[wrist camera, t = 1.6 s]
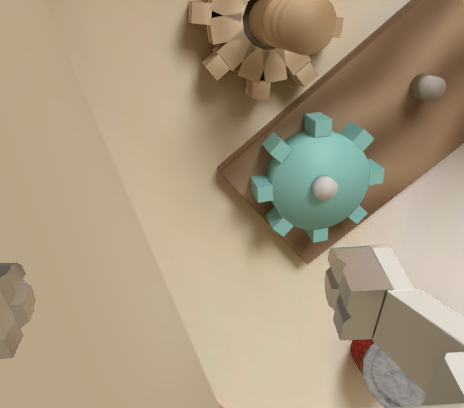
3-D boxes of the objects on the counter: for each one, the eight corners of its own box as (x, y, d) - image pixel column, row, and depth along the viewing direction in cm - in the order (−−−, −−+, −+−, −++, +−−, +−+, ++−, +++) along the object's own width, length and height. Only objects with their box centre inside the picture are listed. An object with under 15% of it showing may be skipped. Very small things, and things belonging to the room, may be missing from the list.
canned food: (344, 340, 56) (338, 403, 48) (362, 288, 51) (359, 349, 43) (428, 365, 54) (438, 436, 46) (457, 313, 49) (473, 383, 40)
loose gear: (156, 8, 30) (161, 9, 20) (275, -107, 28) (339, -164, 19) (249, 120, 35) (286, 162, 26) (354, 29, 33) (435, 37, 24)
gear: (225, 187, 35) (232, 204, 32) (312, 84, 33) (329, 92, 30) (310, 248, 40) (324, 268, 37) (392, 162, 38) (414, 176, 34)
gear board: (217, 166, 36) (224, 181, 33) (439, -25, 32) (470, -28, 29) (302, 256, 42) (314, 276, 39) (496, 104, 39) (526, 113, 36)
